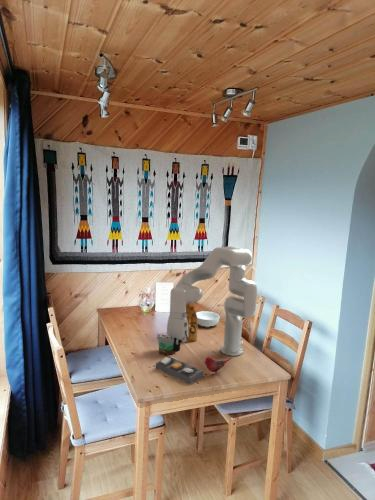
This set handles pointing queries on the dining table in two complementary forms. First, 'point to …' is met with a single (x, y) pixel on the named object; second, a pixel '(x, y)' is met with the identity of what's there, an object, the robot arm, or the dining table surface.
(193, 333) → the coffee package
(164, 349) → the food container
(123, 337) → the dining table surface
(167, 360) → the rocker
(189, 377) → the rocker switch panel
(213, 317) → the cereal bowl
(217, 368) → the decorative bird figurine
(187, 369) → the rocker
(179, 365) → the middle rocker
